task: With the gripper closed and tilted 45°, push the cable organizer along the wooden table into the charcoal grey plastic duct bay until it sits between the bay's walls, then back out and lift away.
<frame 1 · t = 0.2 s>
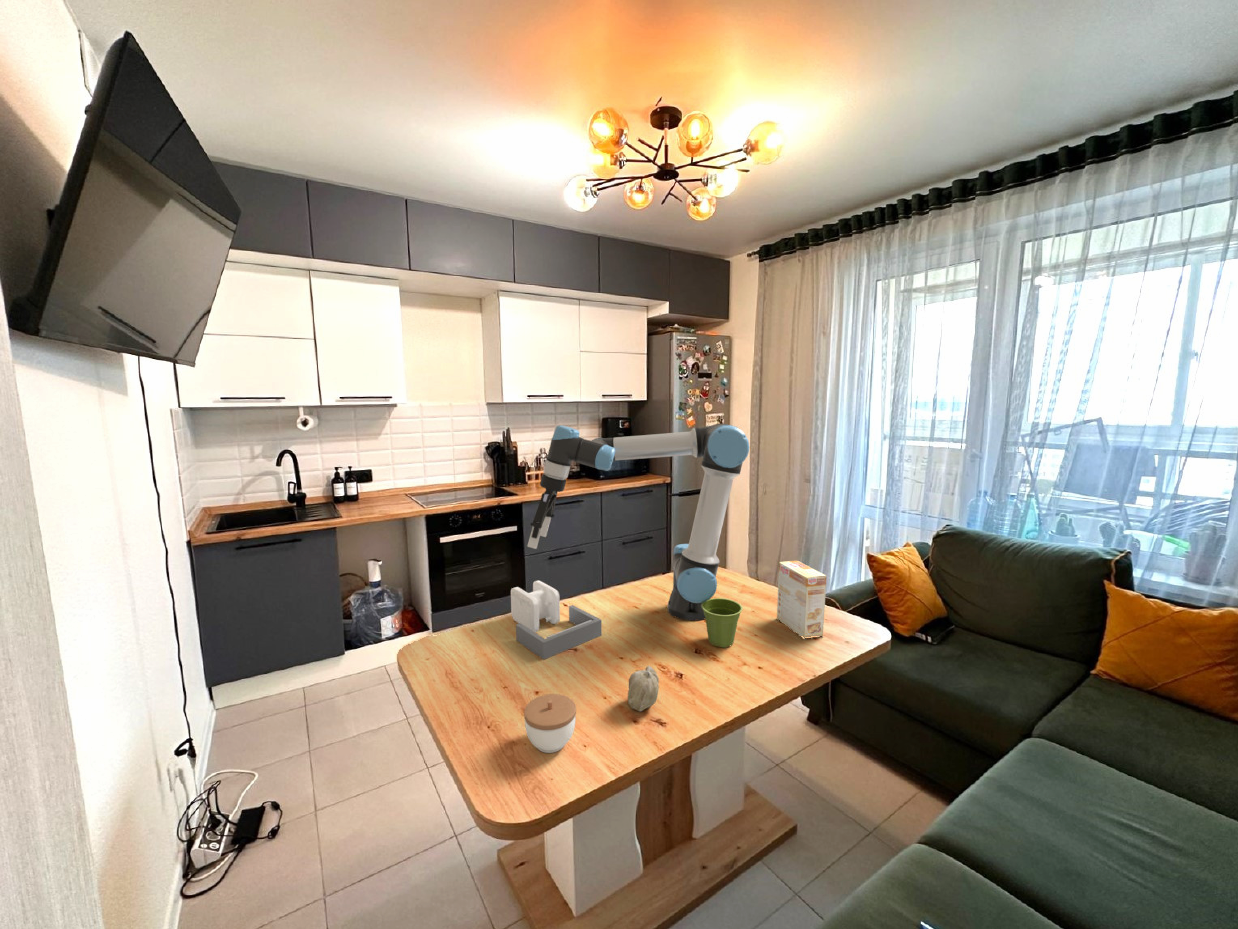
hand: (537, 541, 153), 28 cm above the table, tool tilted 15°, fingers open, 13 cm apart
grey lumpy rounded piece: (641, 706, 116), on the table
duct bay: (558, 637, 149), on the table
cable organizer: (535, 624, 159), on the table
coffeecake box: (798, 628, 156), on the table
lidded jar: (550, 743, 104), on the table
plant pot: (721, 642, 146), on the table, touching arm
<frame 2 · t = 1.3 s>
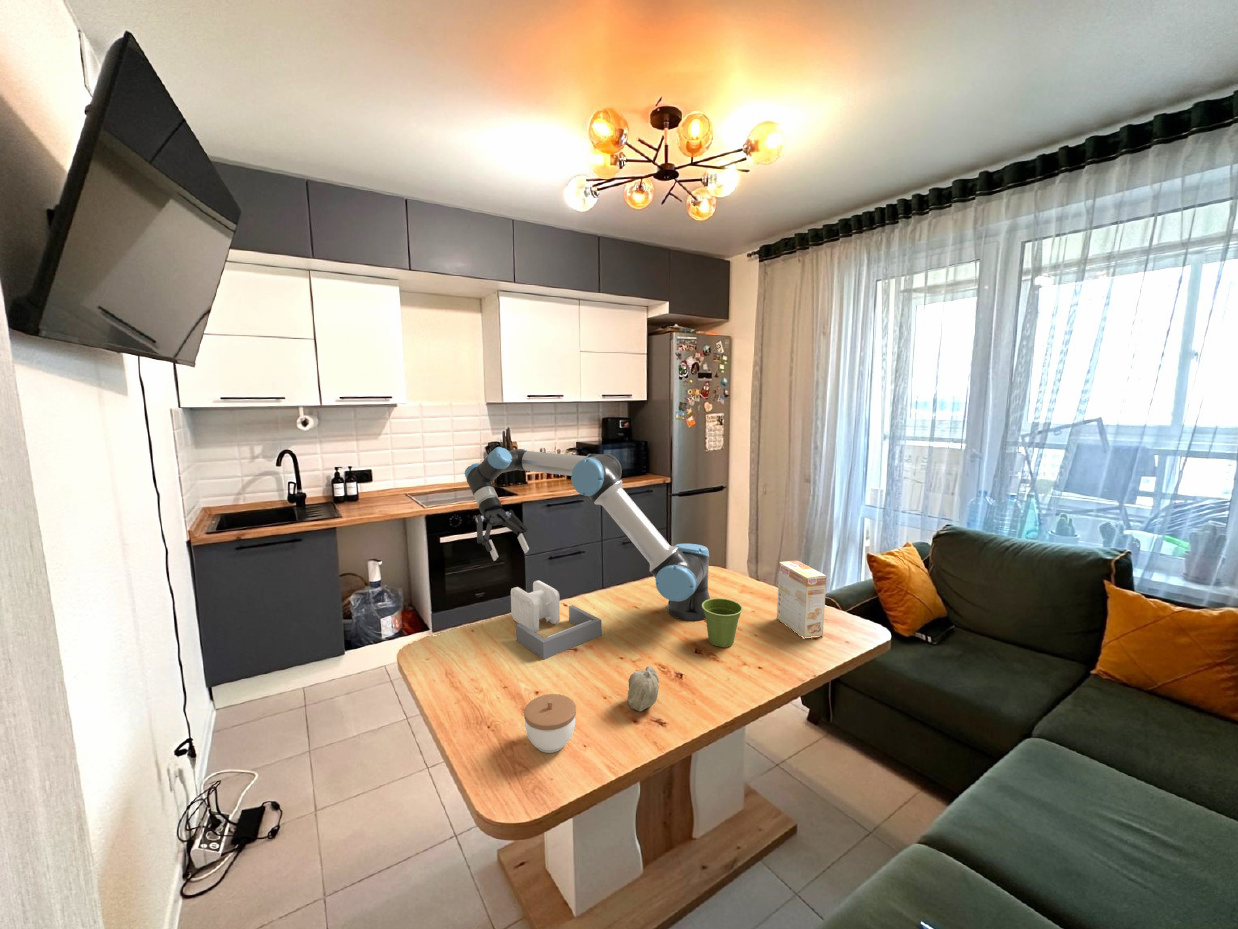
hand: (511, 554, 166), 20 cm above the table, tool tilted 45°, fingers open, 11 cm apart
plant pot: (721, 642, 146), on the table
everything else where it was.
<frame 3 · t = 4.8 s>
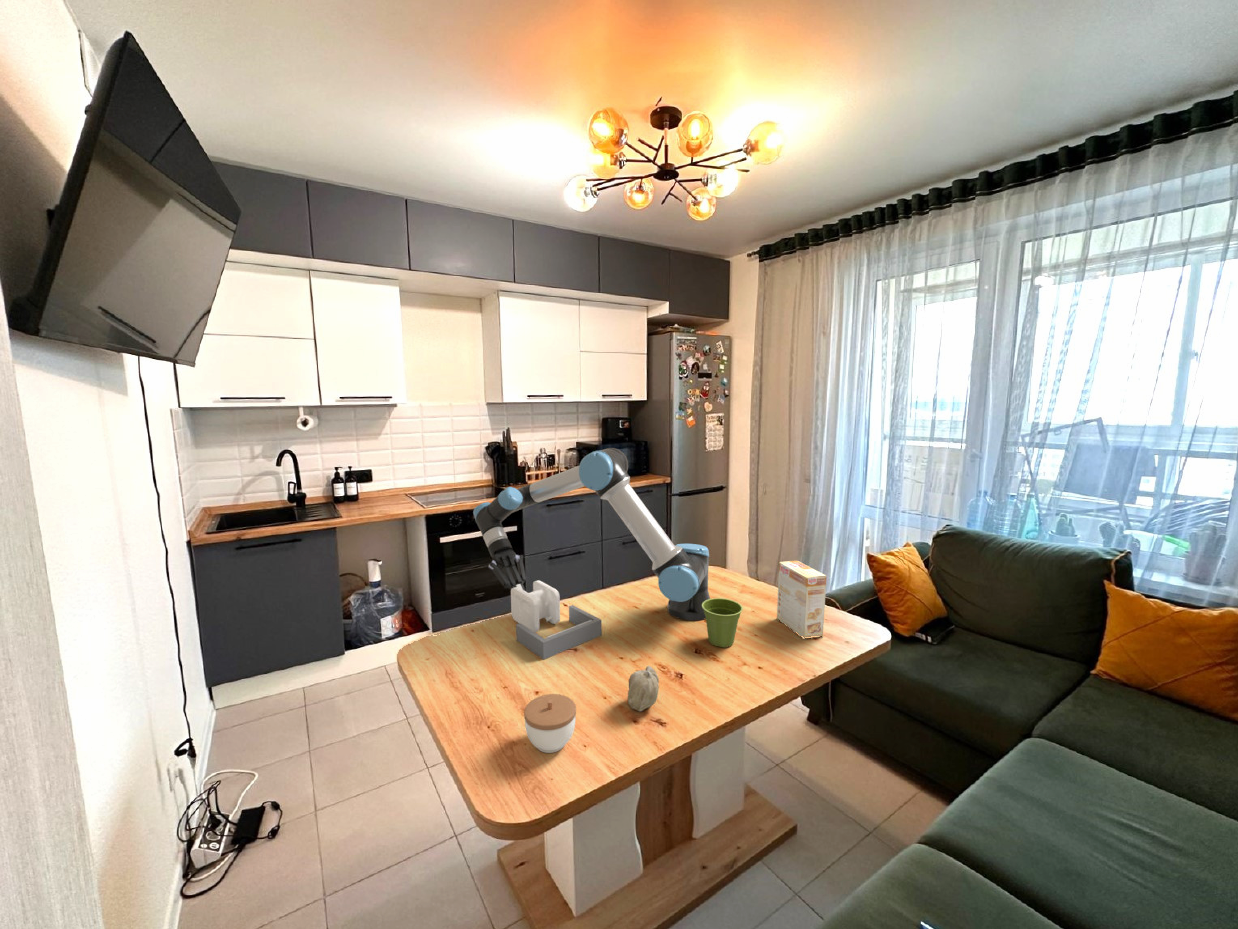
hand: (524, 603, 162), 5 cm above the table, tool tilted 45°, fingers closed
cable organizer: (535, 624, 159), on the table, touching gripper
everything else where it was.
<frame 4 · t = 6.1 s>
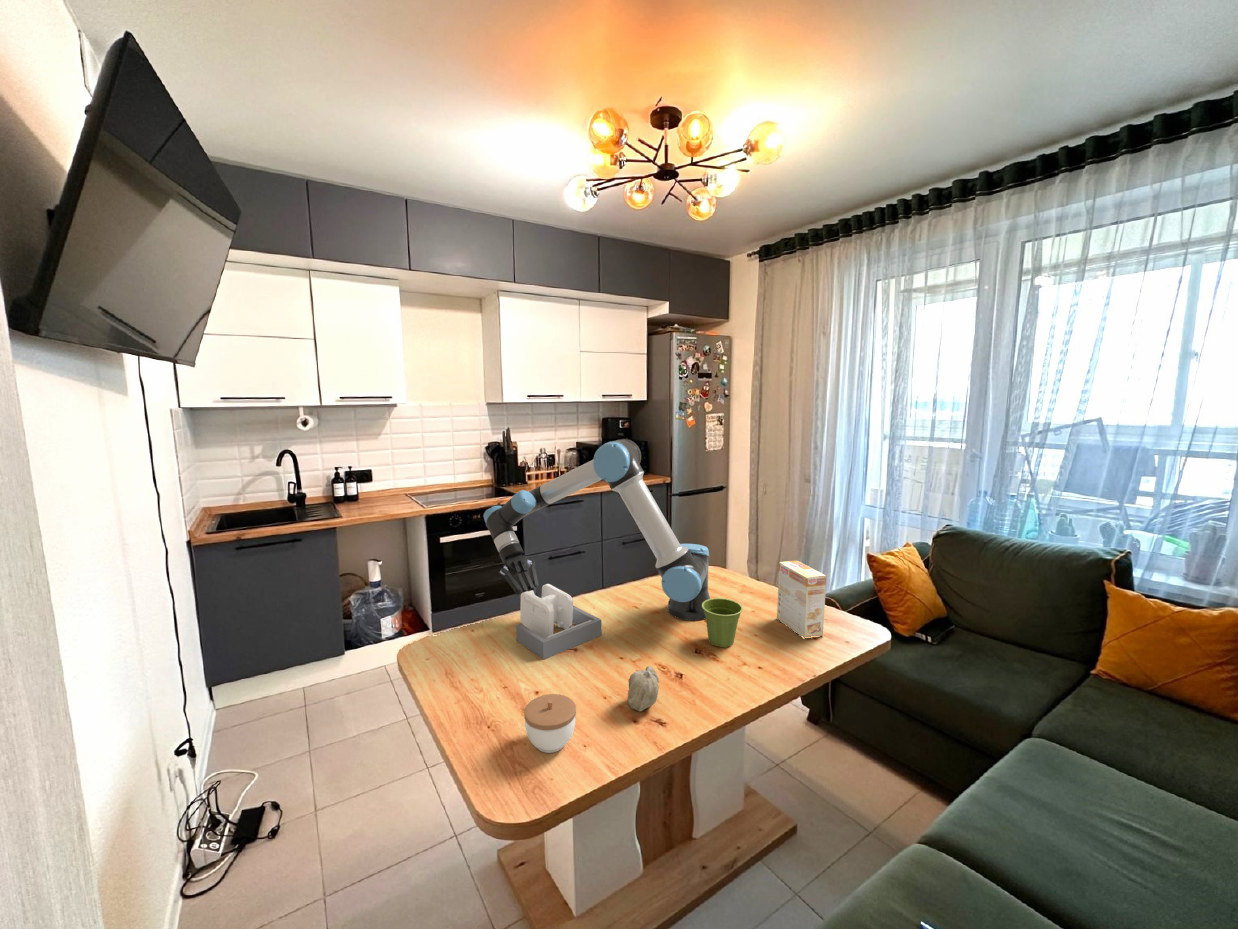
hand: (537, 610, 156), 5 cm above the table, tool tilted 45°, fingers closed
cable organizer: (546, 629, 154), on the table, touching gripper
everything else where it was.
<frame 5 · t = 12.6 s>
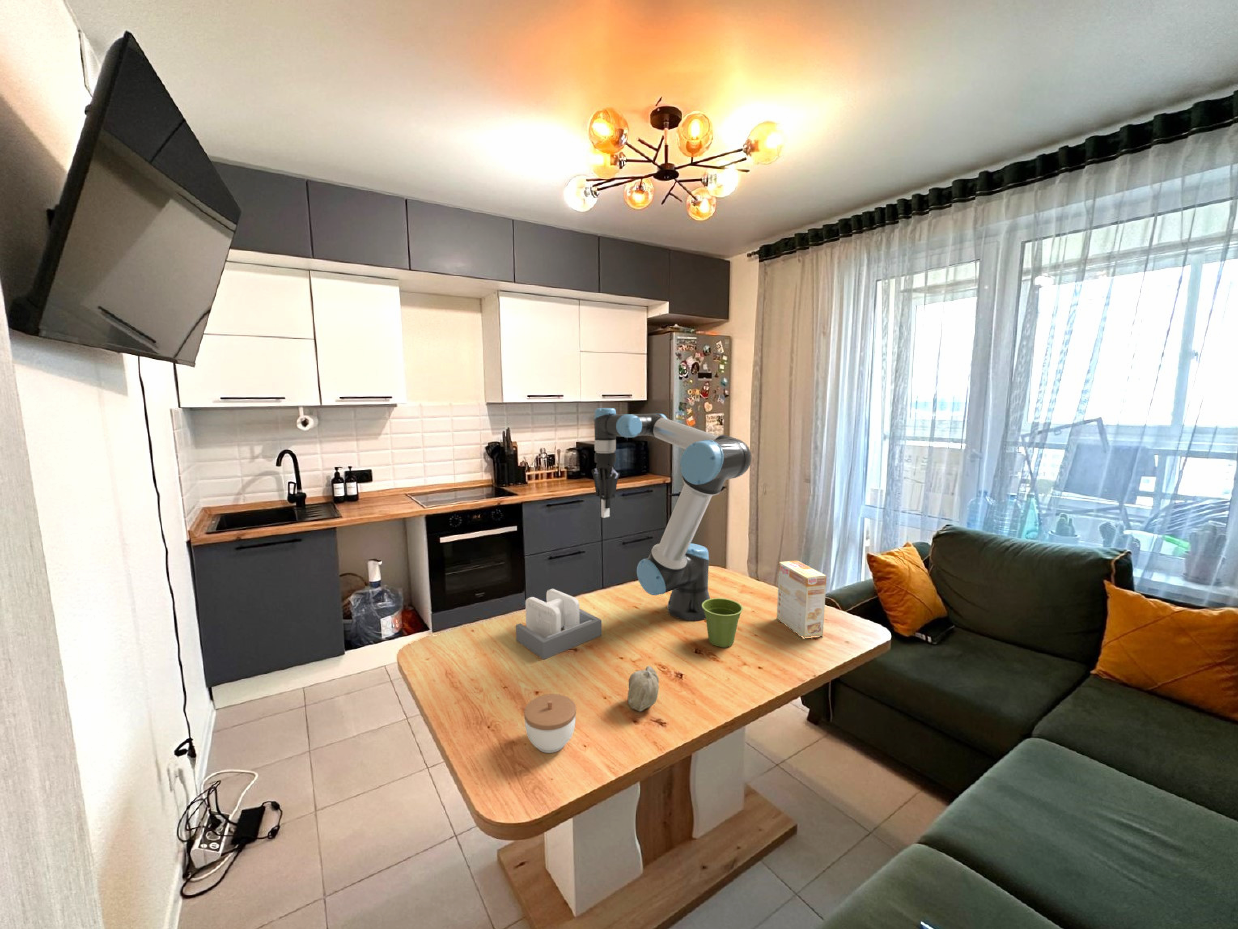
hand: (605, 516, 178), 29 cm above the table, tool pointing down, fingers closed
cable organizer: (553, 634, 151), on the table
everything else where it was.
at the end: cable organizer 2.7 cm off-centre on the duct bay, point 0.0 cm above the duct bay's base; cable organizer tilted 0°; plant pot moved 0.3 cm from its start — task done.
